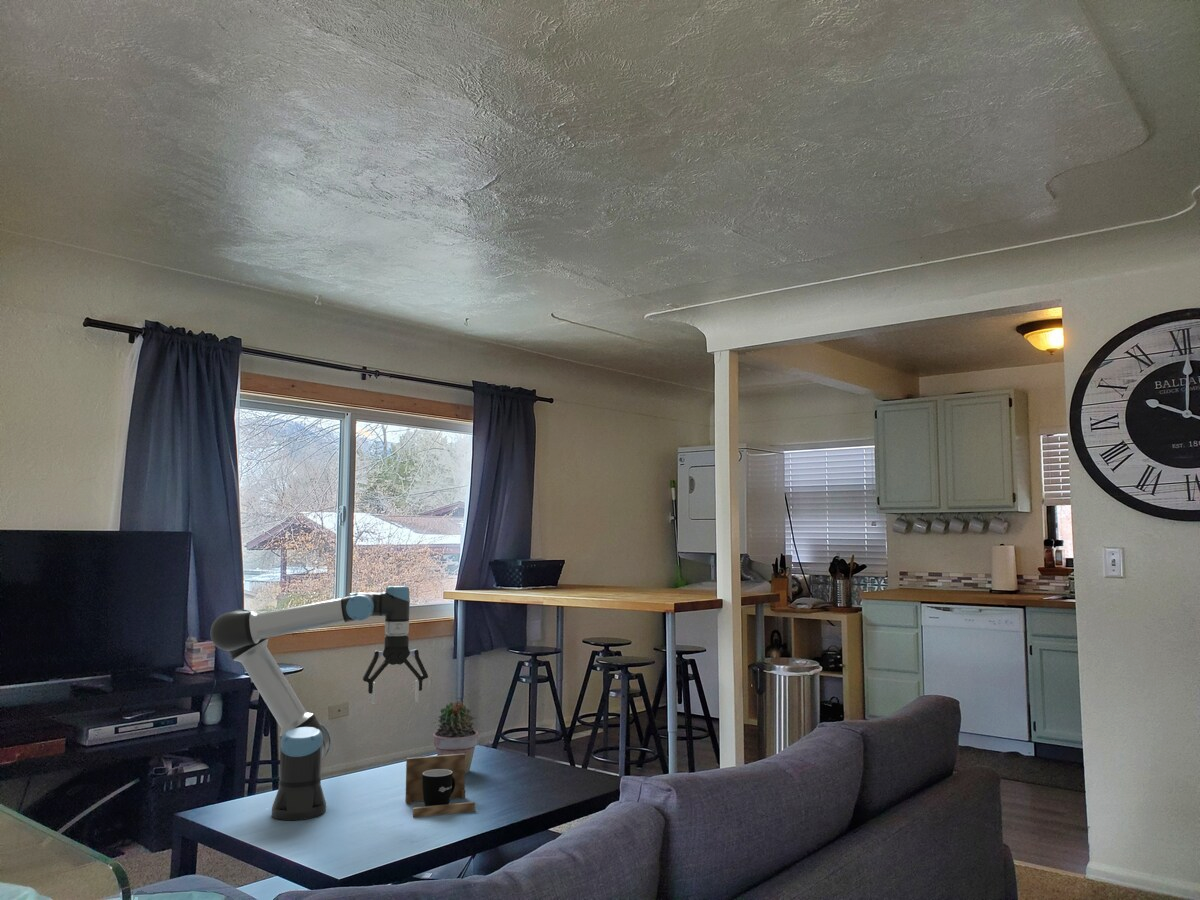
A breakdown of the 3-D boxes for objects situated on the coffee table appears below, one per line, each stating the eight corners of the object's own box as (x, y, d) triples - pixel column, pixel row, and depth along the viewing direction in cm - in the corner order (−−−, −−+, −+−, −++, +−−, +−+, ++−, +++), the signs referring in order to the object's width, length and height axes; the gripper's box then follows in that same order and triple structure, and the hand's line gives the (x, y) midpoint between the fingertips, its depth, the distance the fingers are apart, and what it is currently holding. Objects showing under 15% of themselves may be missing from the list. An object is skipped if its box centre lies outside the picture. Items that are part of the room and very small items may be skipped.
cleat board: (413, 817, 252) (414, 770, 253) (405, 801, 268) (406, 758, 269) (474, 811, 258) (475, 765, 259) (463, 796, 274) (464, 753, 275)
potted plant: (461, 762, 318) (463, 692, 321) (490, 772, 303) (491, 699, 306) (417, 770, 306) (419, 697, 309) (445, 781, 292) (446, 704, 295)
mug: (437, 813, 255) (438, 777, 257) (415, 808, 260) (416, 773, 261) (464, 803, 265) (465, 769, 267) (443, 799, 270) (443, 765, 271)
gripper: (357, 637, 271) (355, 707, 269) (437, 634, 280) (436, 702, 277) (355, 635, 278) (353, 703, 276) (433, 632, 287) (432, 698, 284)
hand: (395, 702), depth 277 cm, fingers open, 13 cm apart
